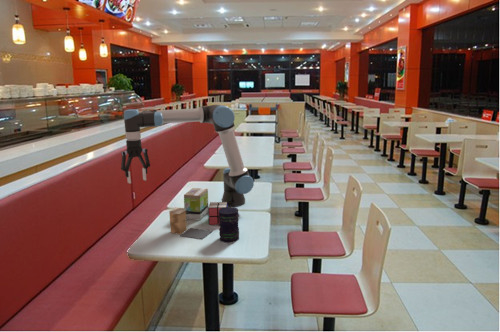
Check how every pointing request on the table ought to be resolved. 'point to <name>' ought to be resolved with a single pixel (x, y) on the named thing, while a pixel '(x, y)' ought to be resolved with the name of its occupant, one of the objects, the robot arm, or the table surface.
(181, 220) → the oak block
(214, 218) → the puzzle cube
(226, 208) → the storage jar
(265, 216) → the table surface
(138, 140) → the robot arm
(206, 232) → the mat
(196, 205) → the tea box
